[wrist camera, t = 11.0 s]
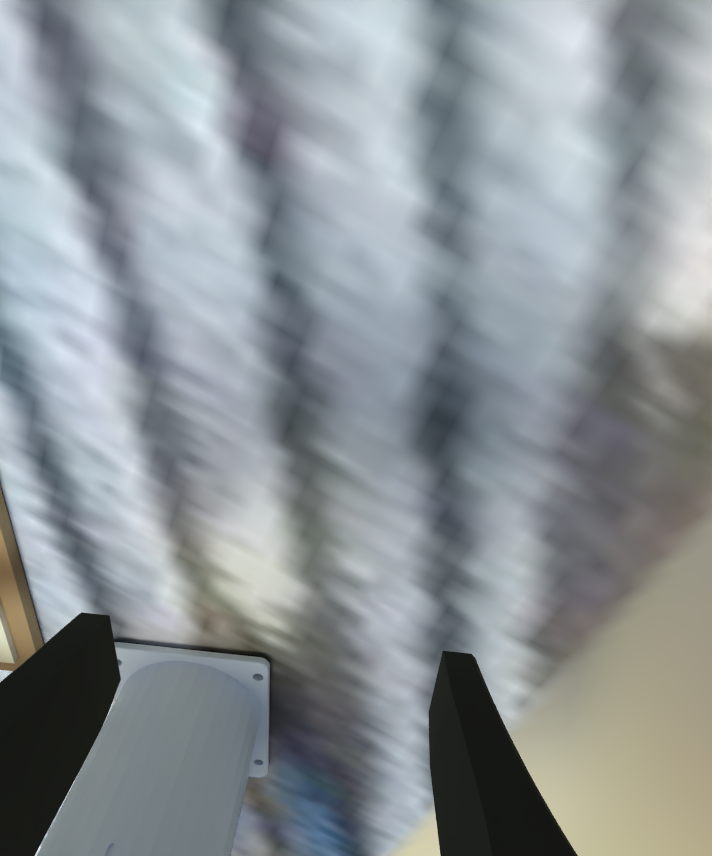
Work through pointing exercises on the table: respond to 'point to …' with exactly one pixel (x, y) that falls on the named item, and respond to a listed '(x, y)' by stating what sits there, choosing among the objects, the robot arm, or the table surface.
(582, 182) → the table surface
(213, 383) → the table surface
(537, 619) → the table surface
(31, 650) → the clipboard
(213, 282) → the table surface
